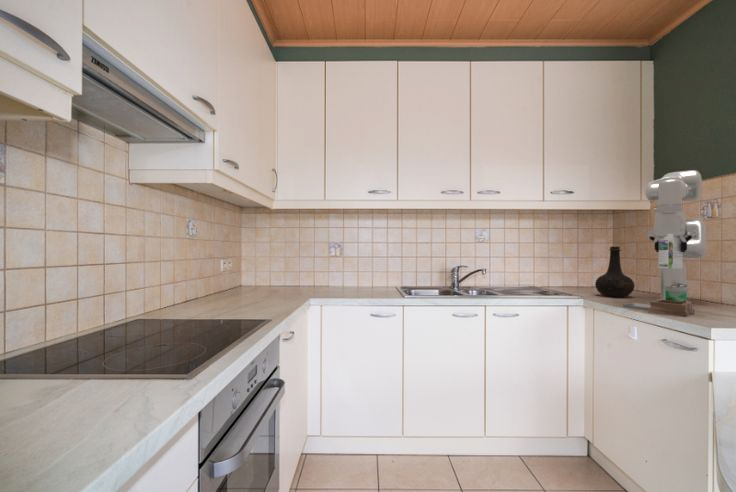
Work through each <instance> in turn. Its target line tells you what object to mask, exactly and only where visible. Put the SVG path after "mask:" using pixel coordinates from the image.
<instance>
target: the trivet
mask: <svg viewBox="0 0 736 492" xmlns="http://www.w3.org/2000/svg"><path fill="white" fill-rule="evenodd" d="M622 307H623V308H632V309H641V310H647V311H649V309H650V304H647V303H638V302H630V303H625V304H623V305H622Z"/></svg>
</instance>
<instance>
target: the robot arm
mask: <svg viewBox="0 0 736 492" xmlns="http://www.w3.org/2000/svg"><path fill="white" fill-rule="evenodd" d="M702 184H703V178H702V174H701V173H700V172H699V171H698V170H696V169H694V170H693V169H692V170H691V169H690V170H682V171H680V170H679V171H674V172H668V173H666V174H664V175H663V176H662V177H661V178H658V179H655V180H652V181H650V182H647V185H646V187H645V191H644V192H645V195H644V196H645V198H646V199H647V200H648V201H650V202H651V201H652V202H653V201H654V202H656V204H657V207H654V208H653V211H654V212H657V213H655V217H654V225H653V228H652V229H650V230H649V231H648V232H646V233H645V236H647V237H648V238H649V240H650V241H652V242H653V243H654V250H655V252H656V253H659V238H660V237H666V236H667V235H668V234H673V236H679V237H680V239H681V240H682V242H681V252H683V259H701V258H704V257H705V256H706V255H707V251H708V250H707V248H708V247H707V228H706V224H705V222H704V220H703V219H701V218H686V215H685V211H684V210H683V202H693V201H697V200H700V199H701V196H702V193H703V192H702V191H703V190H702V187H703V186H702ZM652 234H653V235H652ZM659 270H660V271H659V272H660V273H659V275H660V298H658V299H656V300H666V296H665V291H664V290H665V286H668V287H670V286H676V285H678V283H682V284H686V285H687V266H686V265H685V263H683V268H682V269H667V268H659ZM686 302H690V300H689V301H688V300H687V299H686Z"/></svg>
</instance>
